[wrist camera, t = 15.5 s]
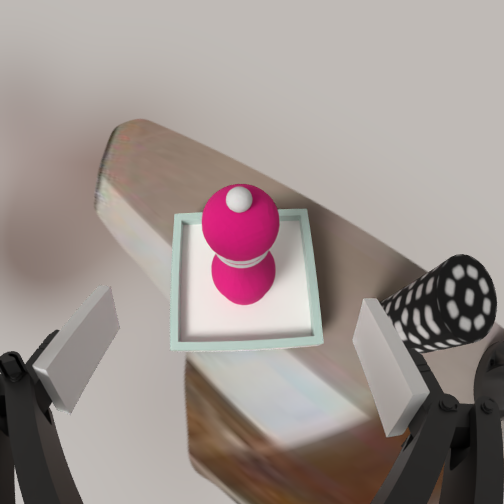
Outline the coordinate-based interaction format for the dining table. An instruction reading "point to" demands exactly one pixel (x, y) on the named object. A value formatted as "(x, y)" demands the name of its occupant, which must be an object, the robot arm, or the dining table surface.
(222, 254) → the pepper mill
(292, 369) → the dining table surface
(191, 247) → the rolling base
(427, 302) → the white-spotted black cylinder
